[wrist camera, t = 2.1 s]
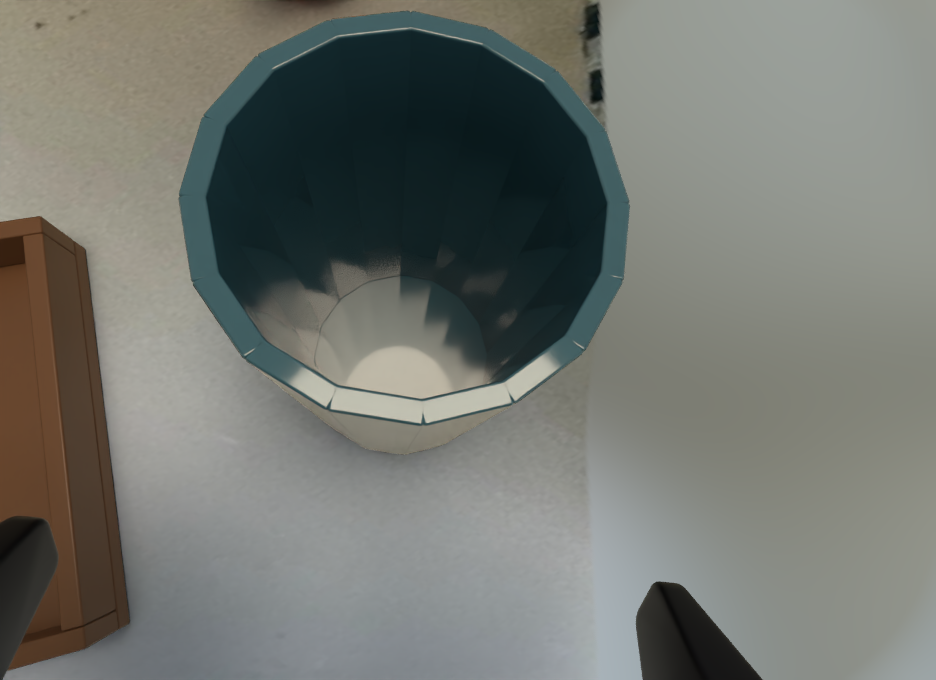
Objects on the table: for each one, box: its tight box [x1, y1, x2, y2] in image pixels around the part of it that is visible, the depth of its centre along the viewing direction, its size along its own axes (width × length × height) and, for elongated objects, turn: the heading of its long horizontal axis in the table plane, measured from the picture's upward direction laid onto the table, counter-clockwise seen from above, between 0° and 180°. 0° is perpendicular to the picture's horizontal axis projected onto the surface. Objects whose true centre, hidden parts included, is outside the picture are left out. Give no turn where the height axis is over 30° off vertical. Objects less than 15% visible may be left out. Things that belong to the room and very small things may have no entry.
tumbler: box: [179, 11, 630, 455], centre depth 15 cm, size 7×7×13 cm
